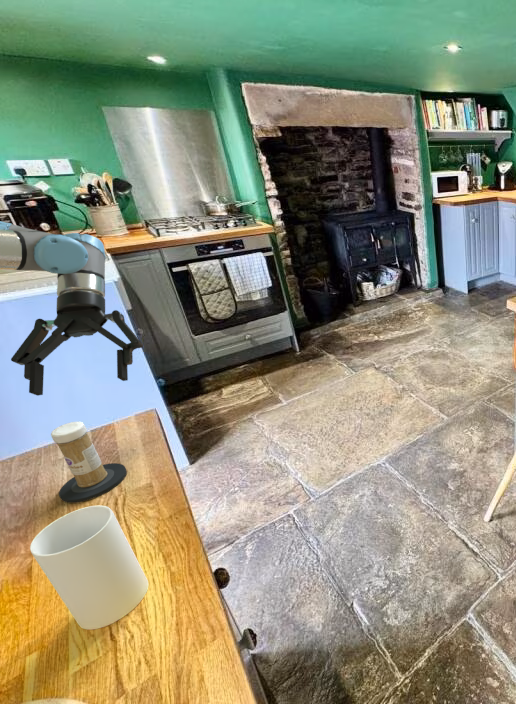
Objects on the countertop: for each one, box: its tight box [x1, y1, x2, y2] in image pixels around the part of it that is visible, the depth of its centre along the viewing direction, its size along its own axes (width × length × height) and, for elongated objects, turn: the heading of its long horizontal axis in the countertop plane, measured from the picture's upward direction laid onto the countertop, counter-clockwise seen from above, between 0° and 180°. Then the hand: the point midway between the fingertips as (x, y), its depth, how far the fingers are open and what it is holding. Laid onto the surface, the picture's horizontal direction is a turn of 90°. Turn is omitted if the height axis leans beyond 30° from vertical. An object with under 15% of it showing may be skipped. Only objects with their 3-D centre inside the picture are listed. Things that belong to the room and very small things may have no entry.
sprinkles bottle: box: [50, 421, 107, 487], centre depth 81 cm, size 5×5×14 cm
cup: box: [29, 504, 150, 631], centre depth 60 cm, size 8×8×16 cm
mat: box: [58, 462, 128, 504], centre depth 84 cm, size 10×10×1 cm
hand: (80, 386), depth 85 cm, fingers open, 13 cm apart
